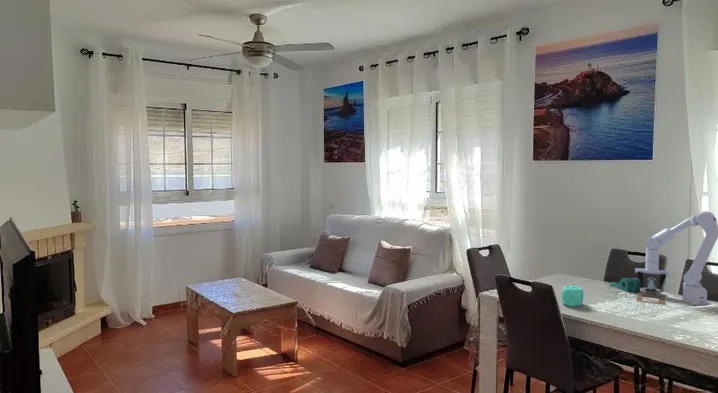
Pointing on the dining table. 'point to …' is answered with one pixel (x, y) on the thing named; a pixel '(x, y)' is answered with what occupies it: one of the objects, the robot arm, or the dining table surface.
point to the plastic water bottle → (651, 284)
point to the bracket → (627, 284)
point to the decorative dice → (572, 296)
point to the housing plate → (662, 300)
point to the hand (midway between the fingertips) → (651, 288)
